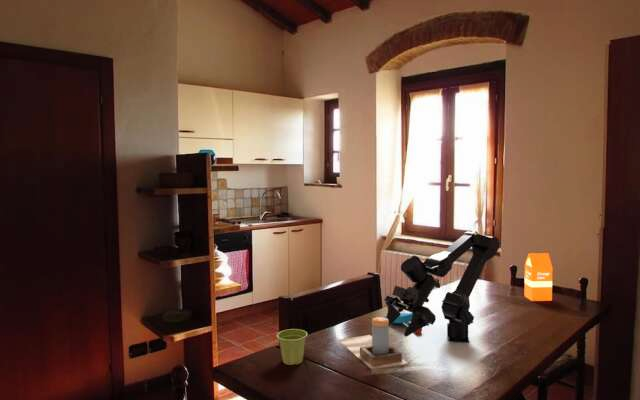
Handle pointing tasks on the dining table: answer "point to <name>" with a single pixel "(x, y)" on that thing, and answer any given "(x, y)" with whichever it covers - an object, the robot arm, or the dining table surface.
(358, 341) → the jig
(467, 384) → the dining table surface
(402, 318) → the lever
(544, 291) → the orange juice
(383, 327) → the orange-capped blue cylinder
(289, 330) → the plant pot
